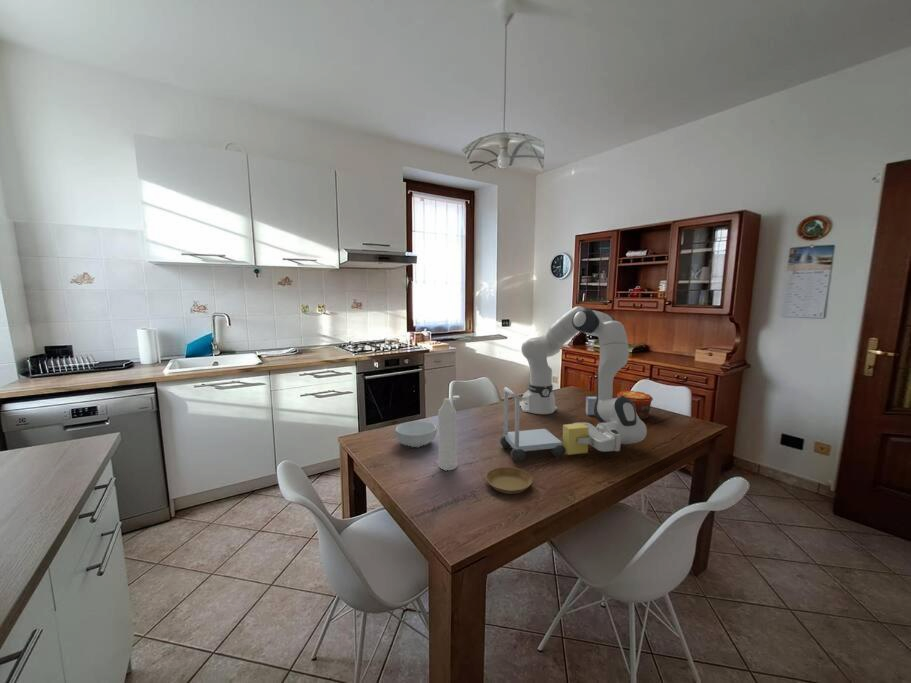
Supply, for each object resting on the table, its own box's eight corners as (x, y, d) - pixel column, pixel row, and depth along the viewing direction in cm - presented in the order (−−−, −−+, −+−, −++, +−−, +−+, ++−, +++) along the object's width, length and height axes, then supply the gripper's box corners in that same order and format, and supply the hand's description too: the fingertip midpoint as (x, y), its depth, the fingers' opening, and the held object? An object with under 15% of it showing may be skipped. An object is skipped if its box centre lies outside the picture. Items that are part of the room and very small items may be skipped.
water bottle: (447, 472, 125) (446, 402, 122) (435, 466, 130) (434, 398, 126) (465, 464, 131) (464, 397, 127) (453, 458, 136) (452, 394, 132)
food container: (611, 415, 181) (612, 395, 180) (622, 408, 193) (623, 388, 191) (646, 423, 170) (647, 401, 169) (655, 414, 182) (656, 394, 180)
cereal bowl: (445, 443, 150) (444, 426, 149) (414, 456, 138) (414, 438, 137) (418, 432, 161) (417, 417, 160) (387, 444, 149) (387, 427, 148)
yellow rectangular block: (562, 449, 139) (563, 424, 138) (581, 447, 141) (582, 423, 139) (568, 454, 135) (569, 429, 133) (587, 452, 136) (588, 427, 135)
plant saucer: (508, 469, 127) (508, 462, 127) (541, 487, 116) (541, 479, 115) (476, 483, 118) (476, 475, 118) (508, 503, 107) (509, 495, 106)
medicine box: (601, 413, 185) (601, 396, 184) (603, 415, 181) (604, 399, 180) (585, 412, 186) (585, 396, 185) (587, 415, 182) (588, 398, 181)
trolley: (499, 447, 145) (500, 387, 142) (548, 442, 150) (549, 383, 146) (512, 462, 132) (513, 396, 129) (565, 457, 136) (567, 393, 133)
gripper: (590, 417, 149) (560, 420, 147) (623, 436, 129) (588, 439, 127) (590, 432, 150) (559, 434, 147) (622, 453, 130) (587, 457, 128)
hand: (573, 437), depth 137 cm, fingers closed on yellow rectangular block, 4 cm apart
